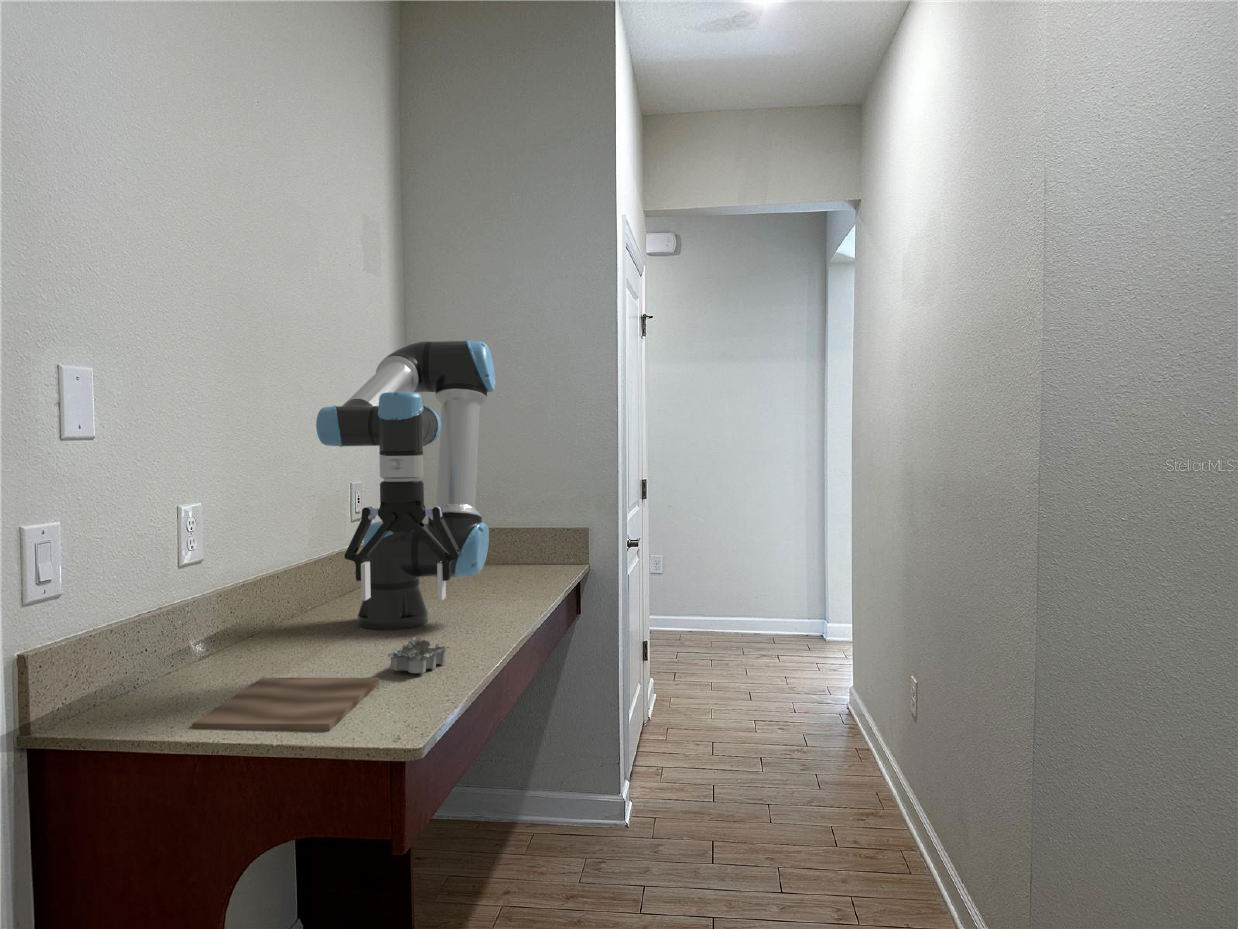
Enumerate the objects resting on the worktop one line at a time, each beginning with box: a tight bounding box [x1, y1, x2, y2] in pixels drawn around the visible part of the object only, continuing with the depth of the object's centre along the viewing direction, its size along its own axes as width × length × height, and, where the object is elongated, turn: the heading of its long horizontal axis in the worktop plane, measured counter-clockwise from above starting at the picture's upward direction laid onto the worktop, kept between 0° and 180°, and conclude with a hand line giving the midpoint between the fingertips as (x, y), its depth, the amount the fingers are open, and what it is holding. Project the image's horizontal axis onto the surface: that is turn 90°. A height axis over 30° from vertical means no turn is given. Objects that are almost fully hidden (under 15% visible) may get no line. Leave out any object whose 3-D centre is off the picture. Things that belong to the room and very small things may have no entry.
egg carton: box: [387, 634, 450, 674], centre depth 152 cm, size 11×8×4 cm
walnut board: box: [191, 677, 380, 732], centre depth 133 cm, size 22×20×1 cm
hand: (403, 599), depth 151 cm, fingers open, 13 cm apart
